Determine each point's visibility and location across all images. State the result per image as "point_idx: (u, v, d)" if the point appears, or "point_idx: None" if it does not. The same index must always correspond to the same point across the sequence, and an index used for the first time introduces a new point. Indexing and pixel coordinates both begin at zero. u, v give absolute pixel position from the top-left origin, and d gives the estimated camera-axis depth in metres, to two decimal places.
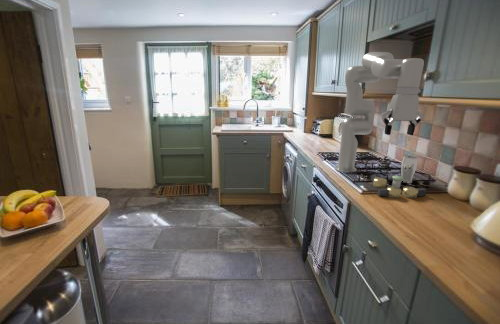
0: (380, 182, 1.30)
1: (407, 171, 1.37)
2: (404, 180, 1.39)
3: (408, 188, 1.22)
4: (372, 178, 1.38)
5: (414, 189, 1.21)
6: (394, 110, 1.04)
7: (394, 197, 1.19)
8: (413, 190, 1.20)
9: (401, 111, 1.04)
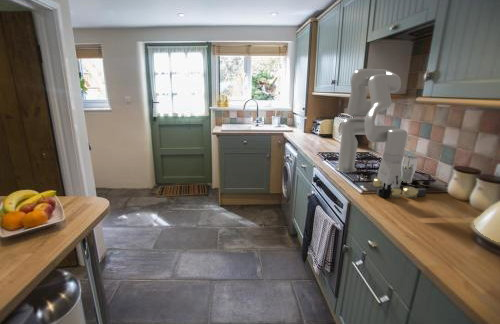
0: (380, 182, 1.30)
1: (407, 171, 1.37)
2: (404, 180, 1.39)
3: (408, 188, 1.22)
4: (372, 178, 1.38)
5: (414, 189, 1.21)
6: (399, 176, 1.11)
7: (393, 197, 1.19)
8: (413, 190, 1.20)
9: None
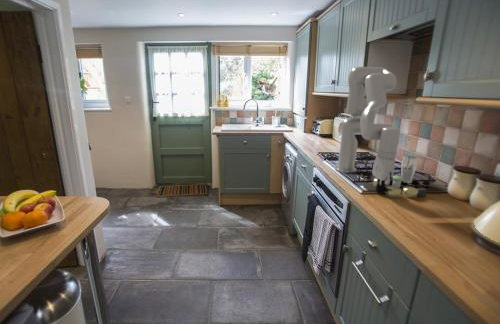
0: None
1: (407, 171, 1.37)
2: (404, 180, 1.39)
3: (408, 188, 1.22)
4: (372, 178, 1.38)
5: (414, 189, 1.21)
6: (393, 173, 1.16)
7: (387, 195, 1.21)
8: (413, 190, 1.20)
9: None
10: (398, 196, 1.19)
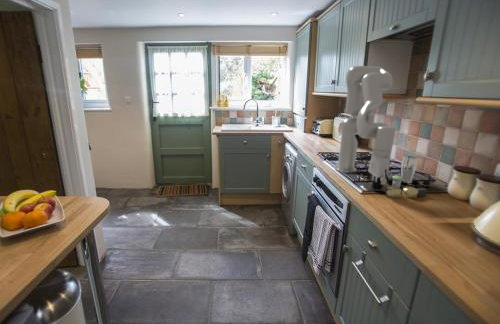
0: None
1: (407, 171, 1.37)
2: (404, 180, 1.39)
3: (408, 188, 1.22)
4: (372, 178, 1.38)
5: (414, 189, 1.21)
6: (388, 170, 1.20)
7: (386, 195, 1.21)
8: (413, 190, 1.20)
9: None
10: (397, 196, 1.19)
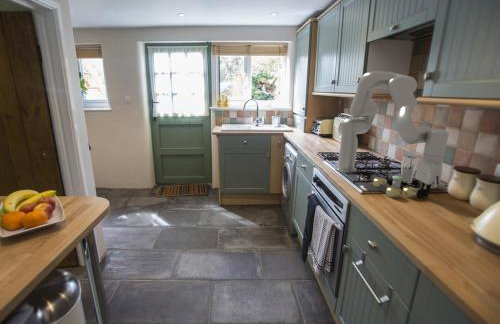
0: (380, 182, 1.30)
1: (407, 171, 1.37)
2: (404, 180, 1.39)
3: (408, 188, 1.22)
4: (372, 178, 1.38)
5: (414, 189, 1.21)
6: (440, 176, 1.12)
7: (386, 195, 1.21)
8: (413, 190, 1.20)
9: None
10: (397, 196, 1.19)
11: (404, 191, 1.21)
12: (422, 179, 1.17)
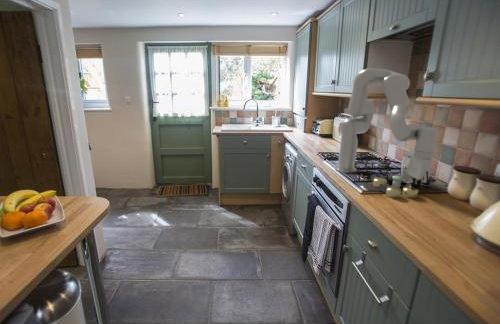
0: (380, 182, 1.30)
1: None
2: (404, 180, 1.39)
3: (409, 189, 1.21)
4: (372, 178, 1.38)
5: (411, 188, 1.22)
6: (430, 172, 1.18)
7: (386, 195, 1.21)
8: (414, 189, 1.21)
9: None
10: (397, 196, 1.19)
11: (410, 193, 1.19)
12: (413, 174, 1.23)
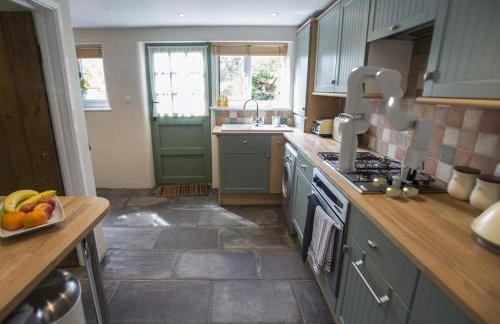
0: (380, 182, 1.30)
1: None
2: (404, 180, 1.39)
3: (409, 189, 1.21)
4: (372, 178, 1.38)
5: (411, 188, 1.22)
6: None
7: (386, 195, 1.21)
8: (414, 189, 1.21)
9: None
10: (397, 196, 1.19)
11: (411, 193, 1.19)
12: (409, 164, 1.25)
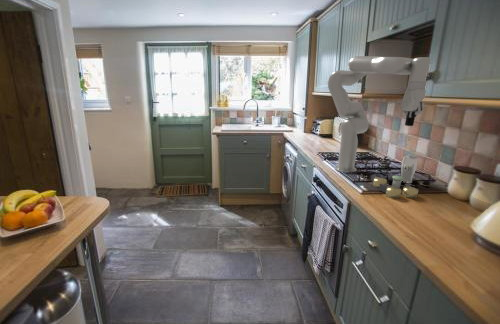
0: (380, 182, 1.30)
1: (407, 171, 1.37)
2: (404, 180, 1.39)
3: (409, 189, 1.21)
4: (372, 178, 1.38)
5: (411, 188, 1.22)
6: None
7: (386, 195, 1.21)
8: (414, 189, 1.21)
9: None
10: (397, 196, 1.19)
11: (411, 193, 1.19)
12: (407, 107, 1.23)
